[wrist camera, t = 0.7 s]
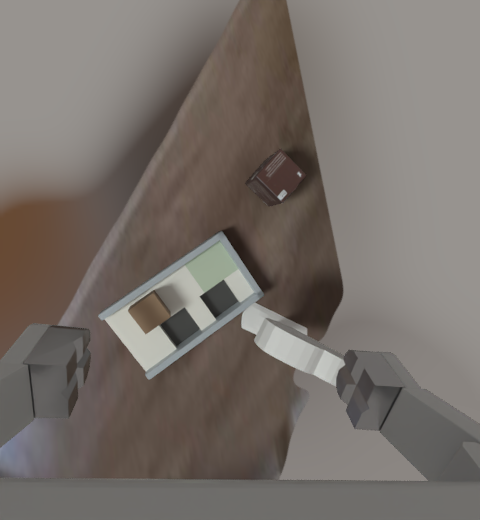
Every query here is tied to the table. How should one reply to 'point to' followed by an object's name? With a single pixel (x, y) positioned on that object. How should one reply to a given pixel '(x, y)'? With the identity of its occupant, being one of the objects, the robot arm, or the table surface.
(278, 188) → the box
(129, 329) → the track
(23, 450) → the table surface
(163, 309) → the walnut block
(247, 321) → the heart sculpture
